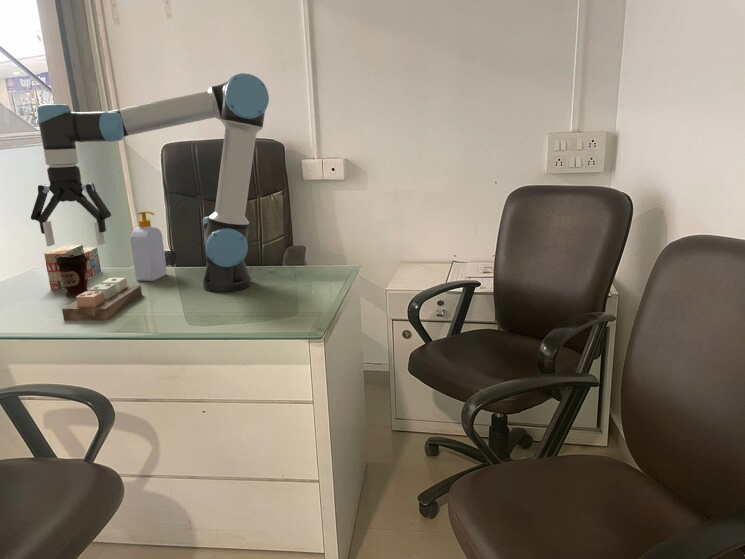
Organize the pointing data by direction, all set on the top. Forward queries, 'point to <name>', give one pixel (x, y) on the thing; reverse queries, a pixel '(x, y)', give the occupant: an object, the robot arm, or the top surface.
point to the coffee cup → (73, 272)
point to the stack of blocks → (52, 256)
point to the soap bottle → (148, 251)
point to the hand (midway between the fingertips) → (76, 244)
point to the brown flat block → (103, 306)
